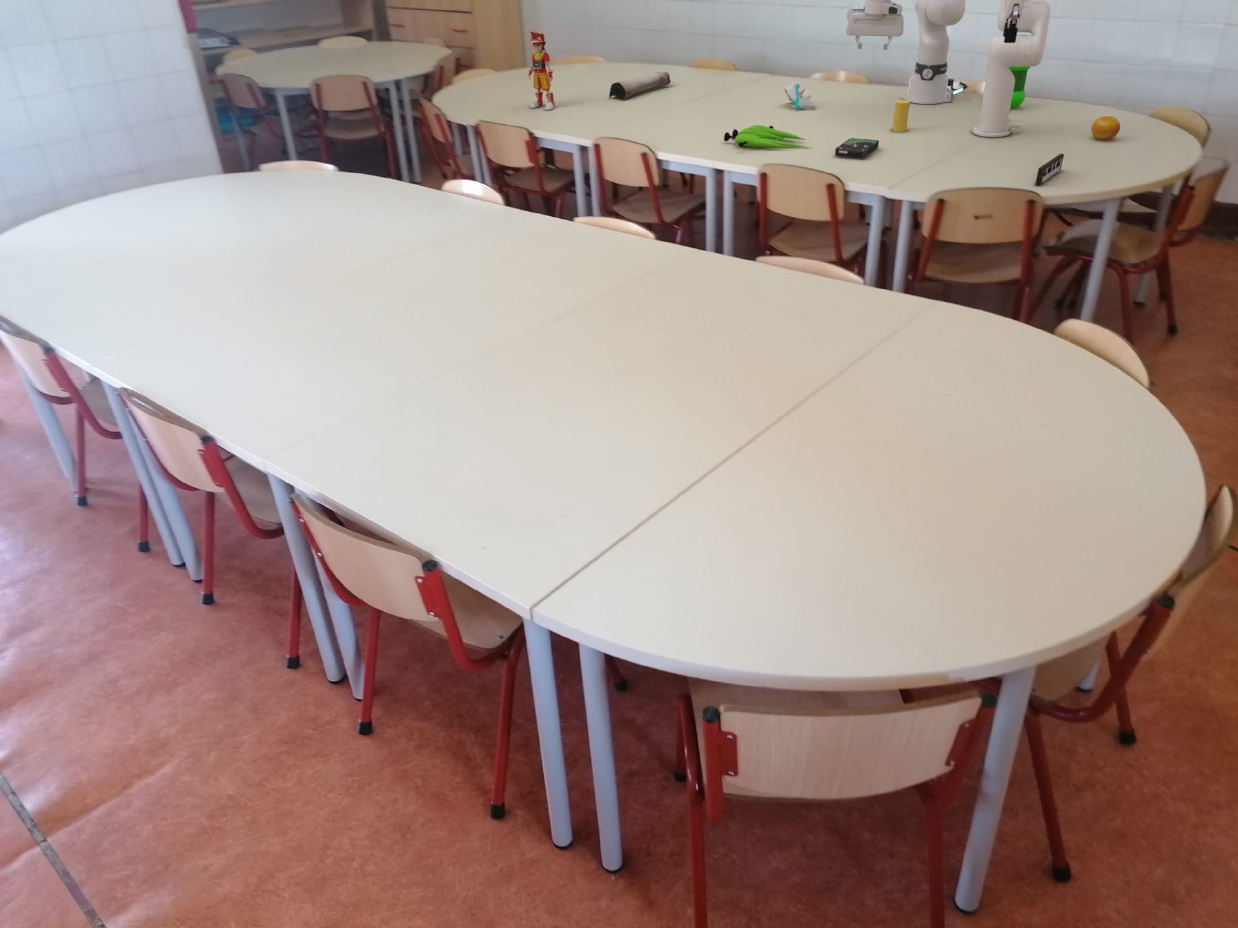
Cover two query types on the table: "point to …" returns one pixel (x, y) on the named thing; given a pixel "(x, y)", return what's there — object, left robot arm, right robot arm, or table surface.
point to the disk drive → (856, 148)
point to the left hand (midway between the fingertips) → (872, 49)
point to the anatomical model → (798, 96)
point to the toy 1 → (541, 71)
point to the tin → (901, 115)
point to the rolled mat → (638, 84)
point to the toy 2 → (761, 137)
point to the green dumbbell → (1018, 85)
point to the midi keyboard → (1049, 169)
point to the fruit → (1105, 127)
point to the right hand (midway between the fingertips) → (1008, 39)
